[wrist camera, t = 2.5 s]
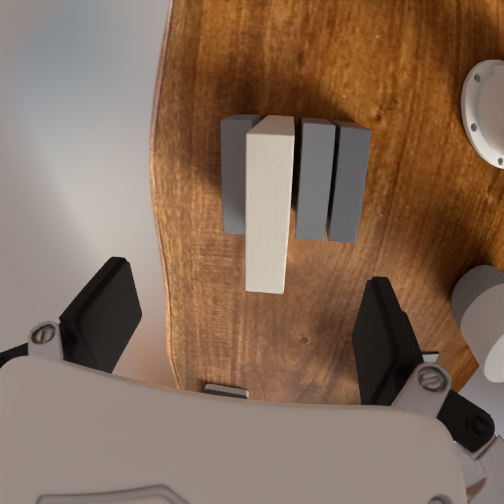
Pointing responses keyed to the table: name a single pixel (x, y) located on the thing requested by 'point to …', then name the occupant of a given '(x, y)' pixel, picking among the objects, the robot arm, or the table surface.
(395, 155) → the table surface
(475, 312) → the smart speaker
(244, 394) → the smartphone
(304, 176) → the grey books
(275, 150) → the cream book
